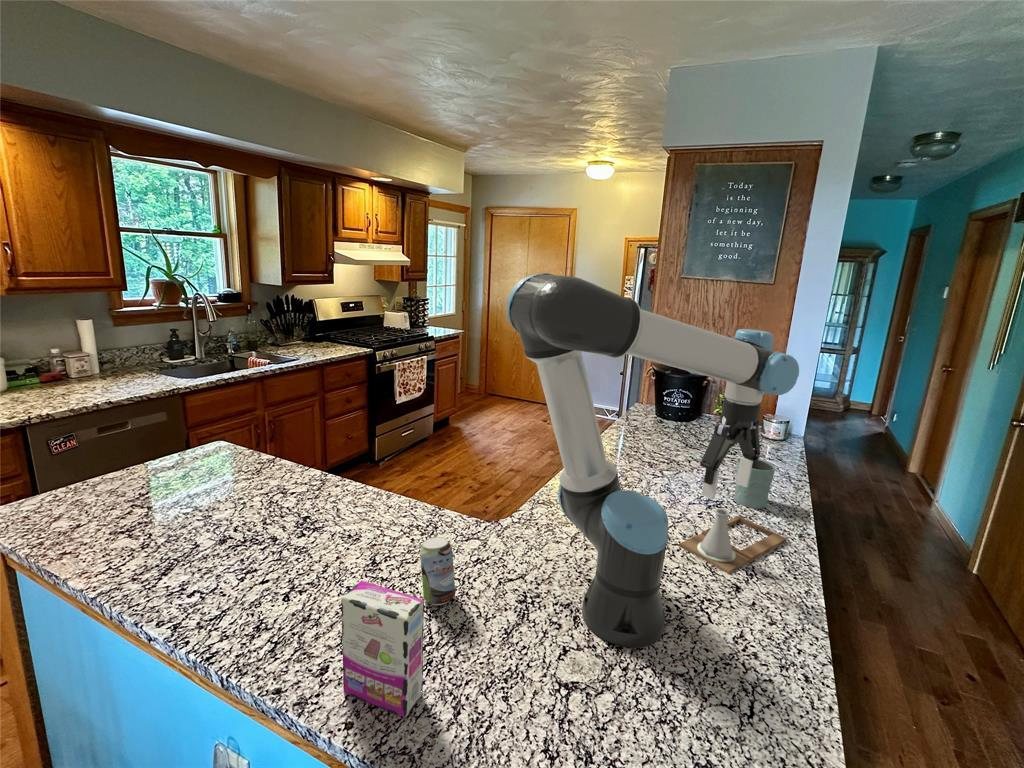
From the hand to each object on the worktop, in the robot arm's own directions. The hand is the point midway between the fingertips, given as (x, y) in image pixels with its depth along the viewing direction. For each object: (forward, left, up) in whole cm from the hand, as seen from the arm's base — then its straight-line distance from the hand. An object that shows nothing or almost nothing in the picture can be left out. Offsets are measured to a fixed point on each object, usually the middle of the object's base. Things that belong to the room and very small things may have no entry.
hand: (725, 490), depth 114 cm
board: (+9, 0, -16) cm, 19 cm away
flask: (0, 0, -16) cm, 16 cm away
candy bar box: (-79, +4, -17) cm, 81 cm away
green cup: (+35, +11, -17) cm, 41 cm away
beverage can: (-63, +19, -17) cm, 68 cm away
